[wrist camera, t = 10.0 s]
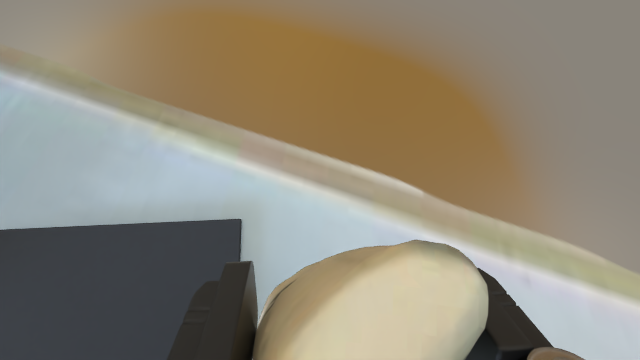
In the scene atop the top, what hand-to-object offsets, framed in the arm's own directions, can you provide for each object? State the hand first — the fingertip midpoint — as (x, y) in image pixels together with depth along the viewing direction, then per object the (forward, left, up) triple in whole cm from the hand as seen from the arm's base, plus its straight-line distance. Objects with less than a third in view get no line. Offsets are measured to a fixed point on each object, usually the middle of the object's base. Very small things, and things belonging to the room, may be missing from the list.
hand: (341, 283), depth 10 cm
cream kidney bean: (0, -2, -4) cm, 5 cm away
